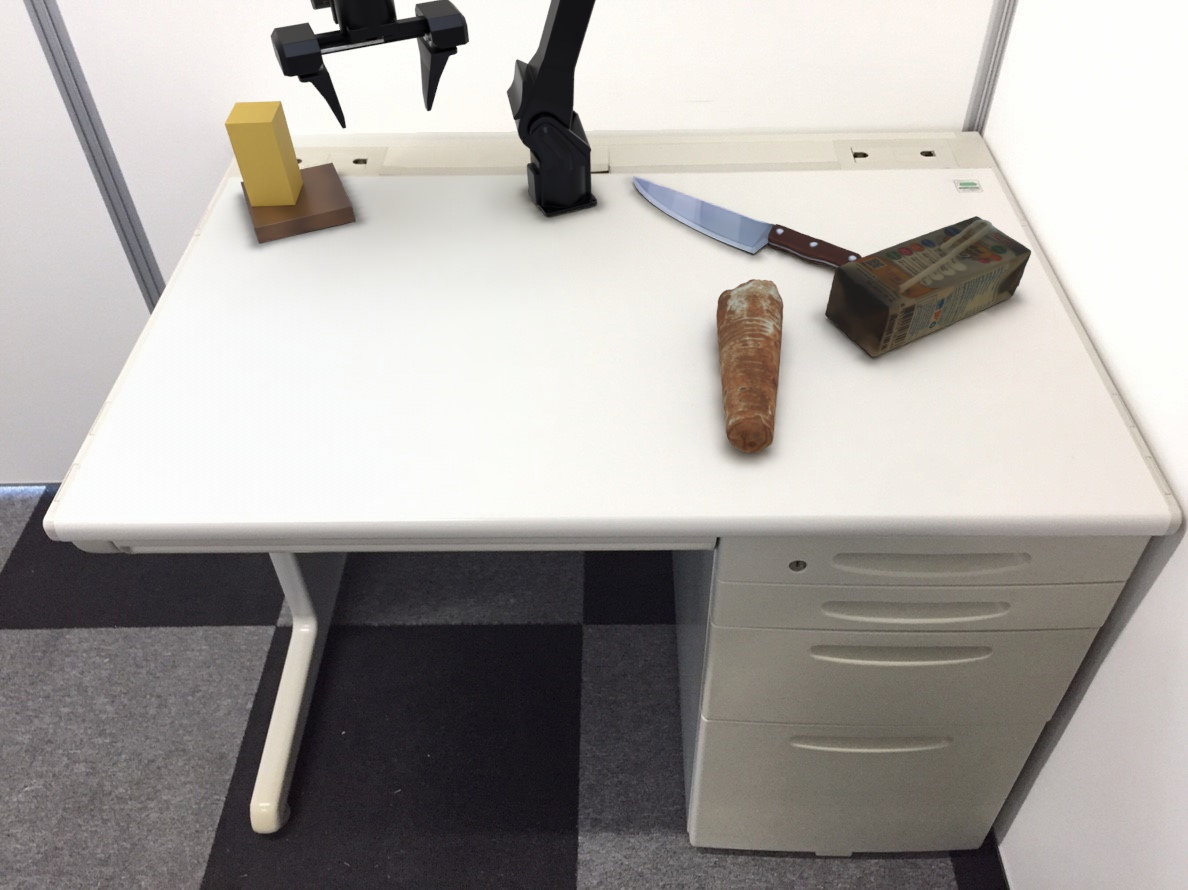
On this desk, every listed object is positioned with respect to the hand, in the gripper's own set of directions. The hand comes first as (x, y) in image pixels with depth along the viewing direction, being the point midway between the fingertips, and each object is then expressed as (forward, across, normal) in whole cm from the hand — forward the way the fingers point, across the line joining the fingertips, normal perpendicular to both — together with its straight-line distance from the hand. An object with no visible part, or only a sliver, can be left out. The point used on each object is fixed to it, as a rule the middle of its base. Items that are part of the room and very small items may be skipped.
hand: (386, 118), depth 98 cm
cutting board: (+12, +11, -7) cm, 18 cm away
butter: (+10, +13, -8) cm, 18 cm away
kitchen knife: (+12, -34, +18) cm, 40 cm away
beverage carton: (+12, -43, +39) cm, 59 cm away
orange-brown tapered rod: (+12, -22, +42) cm, 49 cm away
